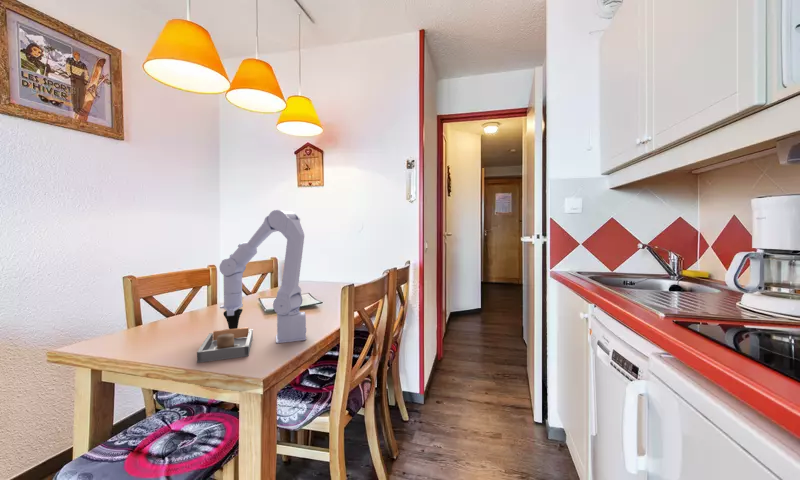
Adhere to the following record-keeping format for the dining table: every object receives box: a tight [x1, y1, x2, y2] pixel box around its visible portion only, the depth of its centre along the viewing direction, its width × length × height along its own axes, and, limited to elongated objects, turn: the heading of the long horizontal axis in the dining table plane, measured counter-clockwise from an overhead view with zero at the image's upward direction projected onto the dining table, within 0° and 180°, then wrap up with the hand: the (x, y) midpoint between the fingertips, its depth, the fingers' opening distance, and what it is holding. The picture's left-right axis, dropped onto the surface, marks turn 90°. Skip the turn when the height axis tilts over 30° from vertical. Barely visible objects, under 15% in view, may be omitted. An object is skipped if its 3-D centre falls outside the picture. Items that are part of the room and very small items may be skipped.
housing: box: [196, 328, 254, 364], centre depth 97 cm, size 13×17×3 cm
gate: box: [212, 326, 249, 341], centre depth 105 cm, size 10×1×3 cm, turn 112°
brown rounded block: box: [217, 334, 234, 349], centre depth 93 cm, size 4×4×5 cm
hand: (233, 330), depth 110 cm, fingers closed
